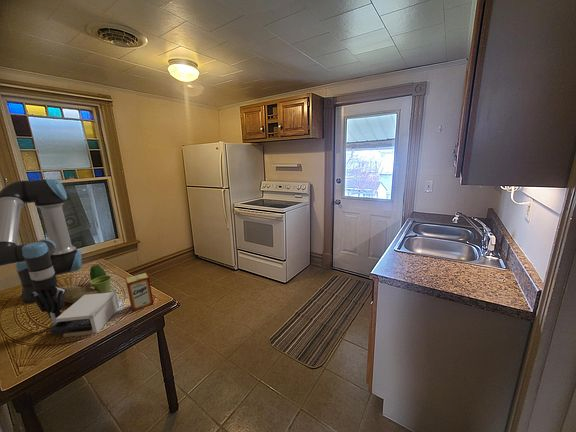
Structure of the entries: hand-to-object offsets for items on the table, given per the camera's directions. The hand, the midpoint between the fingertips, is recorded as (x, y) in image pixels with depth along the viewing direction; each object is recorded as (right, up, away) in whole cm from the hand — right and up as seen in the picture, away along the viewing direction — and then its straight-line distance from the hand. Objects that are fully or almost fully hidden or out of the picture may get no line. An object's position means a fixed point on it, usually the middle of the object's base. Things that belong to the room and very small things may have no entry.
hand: (57, 323), depth 111 cm
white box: (+14, 0, +3) cm, 14 cm away
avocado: (-11, +8, +39) cm, 41 cm away
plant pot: (+1, +5, +27) cm, 27 cm away
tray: (+10, -1, +1) cm, 10 cm away
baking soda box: (+30, +3, +15) cm, 34 cm away
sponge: (-7, +3, +21) cm, 23 cm away
